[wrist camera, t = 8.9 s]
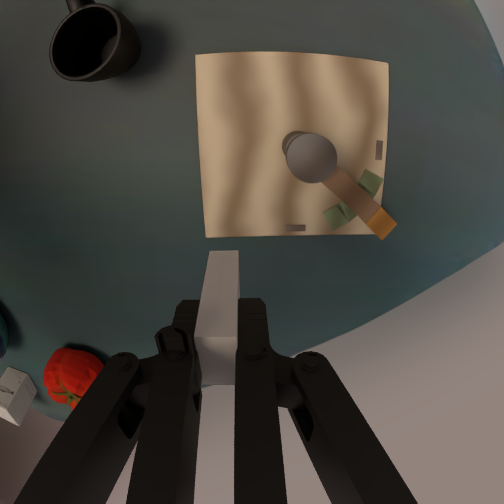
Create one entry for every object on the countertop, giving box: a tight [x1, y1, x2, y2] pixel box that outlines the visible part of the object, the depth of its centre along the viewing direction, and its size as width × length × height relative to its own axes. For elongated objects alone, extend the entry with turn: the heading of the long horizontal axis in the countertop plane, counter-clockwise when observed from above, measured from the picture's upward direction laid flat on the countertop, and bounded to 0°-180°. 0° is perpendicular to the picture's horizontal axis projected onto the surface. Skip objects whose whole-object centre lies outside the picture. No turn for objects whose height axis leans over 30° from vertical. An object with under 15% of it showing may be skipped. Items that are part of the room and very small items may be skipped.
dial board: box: [195, 52, 389, 237], centre depth 33 cm, size 22×22×1 cm
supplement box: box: [0, 366, 37, 426], centre depth 50 cm, size 7×7×13 cm
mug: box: [49, 0, 141, 82], centre depth 23 cm, size 8×12×10 cm
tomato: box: [43, 347, 104, 410], centre depth 46 cm, size 14×13×10 cm
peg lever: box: [282, 131, 397, 240], centre depth 30 cm, size 15×4×8 cm, turn 51°
